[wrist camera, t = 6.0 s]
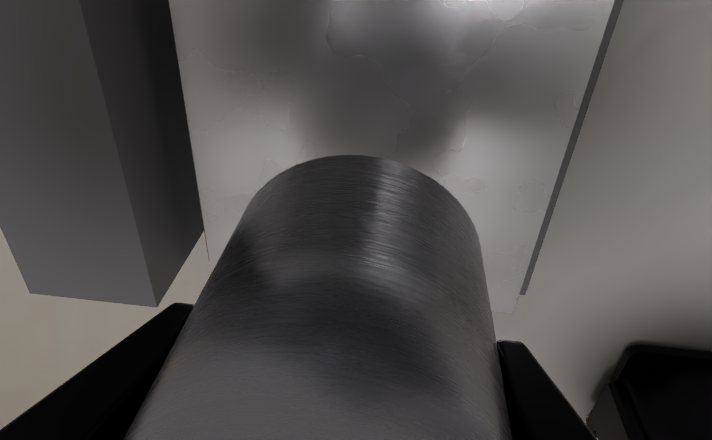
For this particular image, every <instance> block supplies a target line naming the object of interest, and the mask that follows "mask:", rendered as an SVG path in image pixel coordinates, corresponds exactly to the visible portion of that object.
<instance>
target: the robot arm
mask: <svg viewBox="0 0 712 440" xmlns="http://www.w3.org/2000/svg"><path fill="white" fill-rule="evenodd" d="M193 307H194V304H185V303H174V304H172V305H170V306H169V307H167V308H166V309H164V310H163V311H162V312H160V313H159V314H158V315H156V316H155V317H154V318H152V319H151V320H149V321H148V322H147V323H145V324H144V325H143V326H141V327H140V328H139V329H137V330H136V331H134V332H133V333H132V334H130V335H129V336H128V337H126V338H125V339H124V340H122V341H121V342H119V343H118V344H117V345H115V346H114V347H113V348H111V349H110V350H109V351H107V352H106V353H104V354H103V355H102V356H100V357H99V358H98V359H96V360H95V361H94V362H92V363H91V364H89V365H88V366H87V367H85V368H84V369H83V370H81V371H80V372H79V373H77V374H76V375H74V376H73V377H72V378H70V379H69V380H68V381H66V382H65V383H64V384H62V385H61V386H59V387H58V388H57V389H55V390H54V391H53V392H51V393H50V394H49V395H47V396H46V397H44V398H43V399H42V400H40V401H39V402H38V403H36V404H35V405H34V406H32V407H31V408H29V409H28V410H27V411H25V412H24V413H23V414H21V415H20V416H19V417H17V418H16V419H14V420H13V421H12V422H10V423H9V424H8V425H6V426H5V427H4V428H2V429H1V430H0V440H123V439H124V437H125V435H126V433H127V431H128V430H129V428H130V426H131V424H132V422H133V420H134V418H135V416H136V414H137V413H138V411H139V409H140V407H141V405H142V403H143V401H144V399H145V398H146V396H147V394H148V392H149V390H150V388H151V386H152V384H153V382H154V381H155V379H156V377H157V375H158V373H159V371H160V369H161V367H162V366H163V364H164V362H165V360H166V358H167V356H168V354H169V352H170V351H171V349H172V347H173V345H174V343H175V341H176V339H177V337H178V335H179V334H180V332H181V330H182V328H183V326H184V324H185V322H186V320H187V319H188V317H189V315H190V313H191V311H192V309H193ZM496 343H497V349H498V355H499V361H500V367H501V373H502V379H503V385H504V391H505V397H506V403H507V409H508V415H509V421H510V427H511V433H512V440H597V439H596V438H598V440H712V352H703V351H694V350H685V349H676V348H666V347H657V346H648V345H634V346H631V347H630V348H628V349H627V350H626V352H625V354H624V355H623V357H622V359H621V361H620V363H619V365H618V366H617V368H616V370H615V372H614V374H613V376H612V378H611V379H610V381H609V383H608V384H607V385H606V387H605V388H604V390H603V392H602V394H601V396H600V398H599V400H598V401H597V403H596V405H595V407H594V409H593V411H592V413H591V416H590V418H589V420H588V422H587V424H585V423H584V422H583V420H582V419H581V418H580V416H579V415H578V414H577V412H576V411H575V410H574V409H573V407H572V406H571V405H570V403H569V402H568V401H567V399H566V398H565V397H564V395H563V394H562V393H561V392H560V390H559V389H558V388H557V386H556V385H555V384H554V382H553V381H552V380H551V378H550V377H549V376H548V375H547V373H546V372H545V371H544V369H543V368H542V367H541V365H540V364H539V363H538V361H537V360H536V359H535V358H534V356H533V355H532V354H531V352H530V351H529V350H528V348H527V347H526V346H525V345H524V344H523V343H521V342H517V341H509V340H498V341H497V342H496Z"/></svg>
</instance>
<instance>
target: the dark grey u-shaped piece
mask: <svg viewBox="0 0 712 440" xmlns="http://www.w3.org/2000/svg"><path fill="white" fill-rule="evenodd" d="M622 3H623V0H615V1H614V4H613V7H612V10H611V13H610V16H609V19H608V22H607V25H606V28H605V32H604V35H603V38H602V41H601V44H600V47H599V50H598V53H597V56H596V59H595V62H594V65H593V69H592V72H591V75H590V78H589V81H588V84H587V87H586V90H585V93H584V96H583V99H582V102H581V106H580V109H579V112H578V115H577V118H576V121H575V124H574V127H573V130H572V133H571V136H570V139H569V143H568V146H567V149H566V152H565V155H564V158H563V161H562V164H561V167H560V170H559V173H558V176H557V180H556V183H555V186H554V189H553V192H552V195H551V198H550V201H549V204H548V207H547V210H546V213H545V217H544V220H543V223H542V226H541V229H540V232H539V235H538V238H537V241H536V244H535V247H534V250H533V254H532V257H531V260H530V263H529V266H528V269H527V272H526V275H525V278H524V281H523V284H522V287H521V291H520V295H525V294H526V291H527V288H528V285H529V282H530V279H531V276H532V273H533V270H534V267H535V264H536V261H537V258H538V255H539V252H540V249H541V246H542V243H543V240H544V237H545V234H546V231H547V228H548V225H549V222H550V219H551V216H552V213H553V210H554V207H555V204H556V201H557V198H558V195H559V192H560V189H561V186H562V183H563V180H564V177H565V174H566V171H567V168H568V165H569V162H570V159H571V156H572V153H573V150H574V147H575V144H576V141H577V138H578V135H579V132H580V129H581V126H582V123H583V120H584V117H585V114H586V111H587V108H588V105H589V102H590V99H591V96H592V93H593V90H594V87H595V84H596V81H597V78H598V75H599V72H600V69H601V66H602V63H603V60H604V57H605V54H606V51H607V48H608V45H609V42H610V39H611V36H612V33H613V30H614V27H615V24H616V21H617V18H618V15H619V12H620V9H621V6H622ZM0 227H1V229H2V232H3V234H4V236H5V238H6V241H7V243H8V245H9V247H10V250H11V252H12V254H13V256H14V258H15V261H16V263H17V265H18V267H19V270H20V272H21V274H22V276H23V279H24V281H25V283H26V285H27V287H28V290H29V292H30V293H33V294H42V295H51V296H60V297H68V298H77V299H86V300H95V301H104V302H113V303H122V304H131V305H140V306H149V307H158V305H159V303H160V302H161V300H162V298H163V297H164V295H165V294H166V292H167V290H168V289H169V287H170V285H171V284H172V282H173V280H174V279H175V277H176V275H177V274H178V272H179V271H180V269H181V267H182V266H183V264H184V262H185V261H186V259H187V257H188V256H189V254H190V253H191V251H192V249H193V248H194V246H195V244H196V243H197V241H198V239H199V238H200V236H201V234H202V233H203V231H204V232H205V229H204V222H203V216H202V210H201V203H200V197H199V191H198V184H197V178H196V171H195V165H194V159H193V152H192V146H191V140H190V133H189V127H188V120H187V114H186V108H185V101H184V95H183V89H182V82H181V76H180V69H179V63H178V57H177V50H176V44H175V38H174V31H173V25H172V19H171V12H170V6H169V0H0ZM205 239H206V235H205ZM206 245H207V241H206ZM207 251H208V248H207ZM208 258H209V254H208ZM209 262H210V261H209Z"/></svg>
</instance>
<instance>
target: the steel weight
mask: <svg viewBox="0 0 712 440" xmlns="http://www.w3.org/2000/svg"><path fill="white" fill-rule="evenodd" d="M123 440H512V433H511V427H510V421H509V415H508V409H507V403H506V397H505V391H504V385H503V379H502V373H501V367H500V361H499V355H498V349H497V343H496V337H495V331H494V325H493V319H492V312H491V306H490V300H489V294H488V288H487V282H486V276H485V270H484V264H483V258H482V252H481V246H480V241H479V237H478V234H477V231H476V229H475V226H474V224H473V222H472V220H471V218H470V217H469V215H468V213H467V212H466V210H465V209H464V208H463V206H462V205H461V204H460V202H459V201H458V200H457V199H456V198H455V197H454V196H453V195H452V194H451V193H450V192H449V191H448V190H447V189H446V188H444V187H443V186H442V185H440V184H439V183H438V182H436V181H435V180H434V179H432V178H430V177H429V176H427V175H425V174H423V173H421V172H420V171H418V170H416V169H413V168H411V167H408V166H406V165H404V164H401V163H398V162H394V161H391V160H387V159H384V158H378V157H372V156H365V155H336V156H326V157H322V158H317V159H312V160H309V161H306V162H303V163H300V164H297V165H295V166H293V167H291V168H289V169H287V170H285V171H283V172H281V173H279V174H278V175H276V176H275V177H274V178H272V179H271V180H269V181H268V182H267V183H266V184H265V185H264V186H263V187H262V188H261V189H260V190H259V191H258V192H257V193H256V194H255V196H254V197H253V198H252V199H251V201H250V202H249V204H248V206H247V208H246V209H245V211H244V213H243V215H242V217H241V219H240V221H239V223H238V225H237V226H236V228H235V230H234V232H233V234H232V236H231V238H230V240H229V241H228V243H227V245H226V247H225V249H224V251H223V253H222V255H221V256H220V258H219V260H218V262H217V264H216V266H215V268H214V270H213V272H212V273H211V275H210V277H209V279H208V281H207V283H206V285H205V287H204V288H203V290H202V292H201V294H200V296H199V298H198V300H197V302H196V304H195V305H194V307H193V309H192V311H191V313H190V315H189V317H188V319H187V320H186V322H185V324H184V326H183V328H182V330H181V332H180V334H179V335H178V337H177V339H176V341H175V343H174V345H173V347H172V349H171V351H170V352H169V354H168V356H167V358H166V360H165V362H164V364H163V366H162V367H161V369H160V371H159V373H158V375H157V377H156V379H155V381H154V382H153V384H152V386H151V388H150V390H149V392H148V394H147V396H146V398H145V399H144V401H143V403H142V405H141V407H140V409H139V411H138V413H137V414H136V416H135V418H134V420H133V422H132V424H131V426H130V428H129V430H128V431H127V433H126V435H125V437H124V439H123Z"/></svg>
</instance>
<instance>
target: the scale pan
mask: <svg viewBox="0 0 712 440" xmlns="http://www.w3.org/2000/svg"><path fill="white" fill-rule="evenodd" d="M614 1H615V0H169V6H170V12H171V19H172V25H173V31H174V38H175V44H176V50H177V57H178V63H179V69H180V76H181V82H182V89H183V95H184V101H185V108H186V114H187V120H188V127H189V133H190V140H191V146H192V152H193V159H194V165H195V171H196V178H197V184H198V191H199V197H200V203H201V210H202V216H203V222H204V229H205V235H206V241H207V248H208V254H209V261H210V267H211V273H212V272H213V270H214V268H215V266H216V264H217V262H218V260H219V258H220V256H221V255H222V253H223V251H224V249H225V247H226V245H227V243H228V241H229V240H230V238H231V236H232V234H233V232H234V230H235V228H236V226H237V225H238V223H239V221H240V219H241V217H242V215H243V213H244V211H245V209H246V208H247V206H248V204H249V202H250V201H251V199H252V198H253V197H254V196H255V194H256V193H257V192H258V191H259V190H260V189H261V188H262V187H263V186H264V185H265V184H266V183H267V182H268V181H269V180H271V179H272V178H274V177H275V176H276V175H278V174H279V173H281V172H283V171H285V170H287V169H289V168H291V167H293V166H295V165H297V164H300V163H303V162H306V161H309V160H312V159H317V158H322V157H326V156H336V155H365V156H372V157H378V158H384V159H387V160H391V161H394V162H398V163H401V164H404V165H406V166H408V167H411V168H413V169H416V170H418V171H420V172H421V173H423V174H425V175H427V176H429V177H430V178H432V179H434V180H435V181H436V182H438V183H439V184H440V185H442V186H443V187H444V188H446V189H447V190H448V191H449V192H450V193H451V194H452V195H453V196H454V197H455V198H456V199H457V200H458V201H459V202H460V204H461V205H462V206H463V208H464V209H465V210H466V212H467V213H468V215H469V217H470V218H471V220H472V222H473V224H474V226H475V229H476V231H477V234H478V237H479V241H480V246H481V252H482V258H483V264H484V270H485V276H486V282H487V288H488V294H489V300H490V306H491V312H499V313H508V314H513V312H514V309H515V306H516V303H517V300H518V297H519V294H520V291H521V287H522V284H523V281H524V278H525V275H526V272H527V269H528V266H529V263H530V260H531V257H532V254H533V250H534V247H535V244H536V241H537V238H538V235H539V232H540V229H541V226H542V223H543V220H544V217H545V213H546V210H547V207H548V204H549V201H550V198H551V195H552V192H553V189H554V186H555V183H556V180H557V176H558V173H559V170H560V167H561V164H562V161H563V158H564V155H565V152H566V149H567V146H568V143H569V139H570V136H571V133H572V130H573V127H574V124H575V121H576V118H577V115H578V112H579V109H580V106H581V102H582V99H583V96H584V93H585V90H586V87H587V84H588V81H589V78H590V75H591V72H592V69H593V65H594V62H595V59H596V56H597V53H598V50H599V47H600V44H601V41H602V38H603V35H604V32H605V28H606V25H607V22H608V19H609V16H610V13H611V10H612V7H613V4H614Z"/></svg>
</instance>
